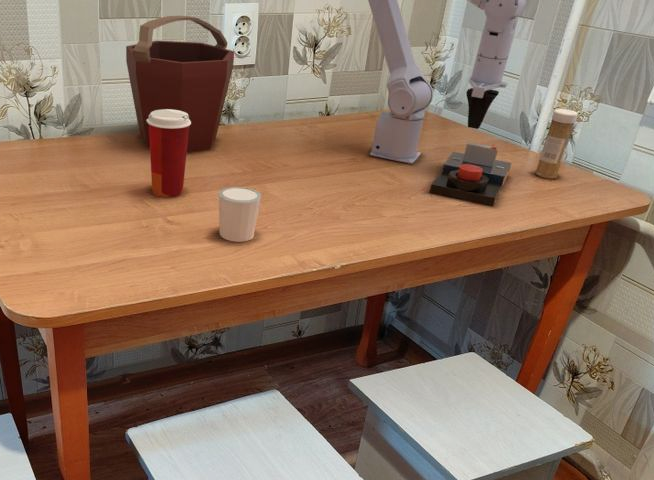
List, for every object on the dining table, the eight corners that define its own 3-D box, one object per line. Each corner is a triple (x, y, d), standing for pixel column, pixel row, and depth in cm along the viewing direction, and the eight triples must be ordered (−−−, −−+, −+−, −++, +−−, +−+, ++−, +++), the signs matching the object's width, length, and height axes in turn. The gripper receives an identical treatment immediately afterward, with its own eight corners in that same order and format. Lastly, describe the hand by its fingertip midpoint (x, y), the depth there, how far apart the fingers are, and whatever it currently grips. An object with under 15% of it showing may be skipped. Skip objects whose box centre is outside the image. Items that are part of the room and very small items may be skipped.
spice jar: (561, 177, 149) (583, 112, 141) (548, 180, 147) (569, 115, 139) (542, 170, 152) (563, 107, 145) (529, 173, 150) (549, 109, 142)
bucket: (146, 162, 142) (147, 28, 128) (105, 131, 158) (101, 9, 144) (249, 149, 153) (259, 24, 139) (200, 121, 169) (206, 6, 155)
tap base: (439, 178, 144) (443, 163, 142) (449, 165, 152) (453, 150, 150) (500, 191, 140) (504, 175, 138) (507, 176, 147) (511, 161, 146)
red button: (454, 179, 135) (457, 168, 134) (459, 172, 138) (461, 162, 137) (478, 184, 133) (481, 173, 132) (482, 177, 136) (484, 167, 135)
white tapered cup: (214, 225, 118) (216, 185, 114) (254, 226, 118) (258, 186, 114) (217, 243, 112) (220, 201, 108) (260, 243, 113) (264, 202, 109)
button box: (429, 193, 136) (433, 175, 134) (437, 181, 142) (442, 164, 141) (492, 206, 132) (498, 189, 130) (499, 194, 138) (504, 176, 136)
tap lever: (462, 161, 144) (467, 142, 142) (463, 159, 146) (468, 140, 143) (492, 167, 142) (497, 148, 140) (493, 165, 143) (498, 146, 141)
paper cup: (194, 188, 131) (197, 112, 124) (179, 202, 125) (181, 122, 118) (155, 181, 133) (156, 105, 126) (139, 194, 127) (139, 116, 120)
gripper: (508, 65, 128) (487, 139, 136) (519, 53, 139) (499, 123, 146) (468, 59, 131) (450, 132, 138) (482, 48, 141) (465, 116, 149)
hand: (473, 127), depth 142 cm, fingers closed
